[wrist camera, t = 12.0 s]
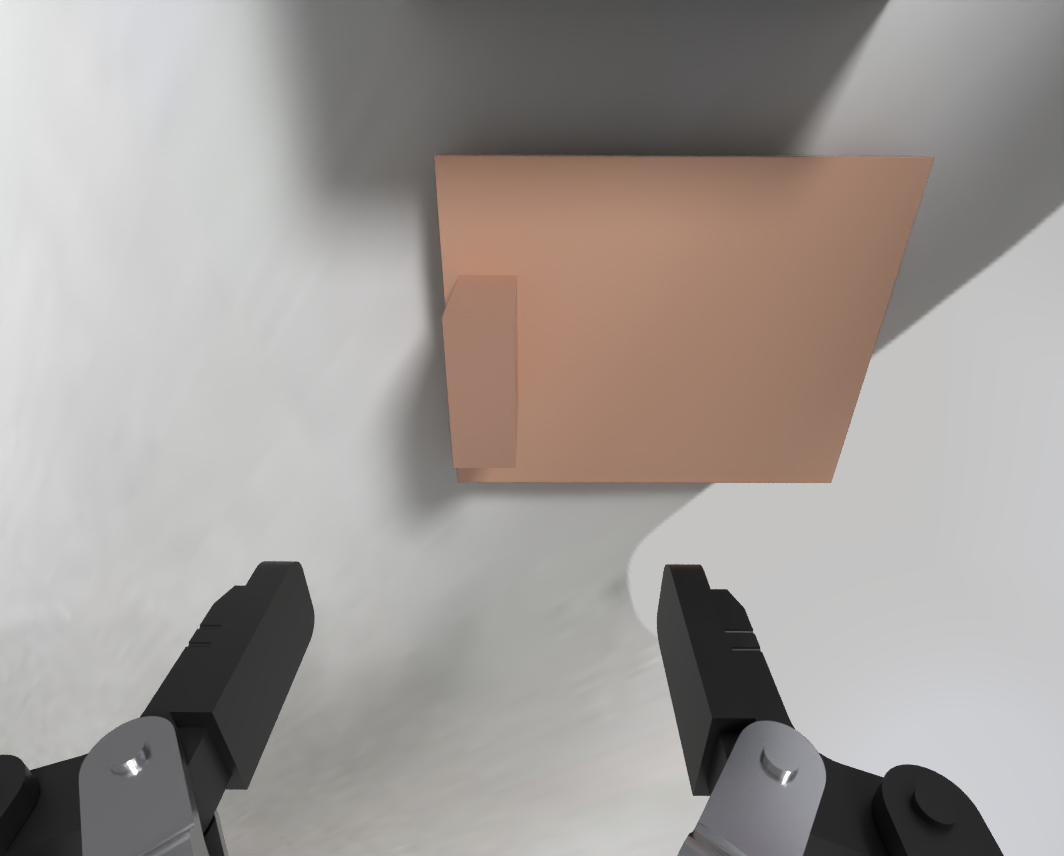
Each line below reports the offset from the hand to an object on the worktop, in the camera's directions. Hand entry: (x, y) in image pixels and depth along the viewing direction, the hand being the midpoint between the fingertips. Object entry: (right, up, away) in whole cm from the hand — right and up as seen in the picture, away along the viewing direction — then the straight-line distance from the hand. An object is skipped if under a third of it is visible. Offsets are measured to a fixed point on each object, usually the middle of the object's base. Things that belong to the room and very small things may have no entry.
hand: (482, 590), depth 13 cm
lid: (+7, +8, +15) cm, 18 cm away
